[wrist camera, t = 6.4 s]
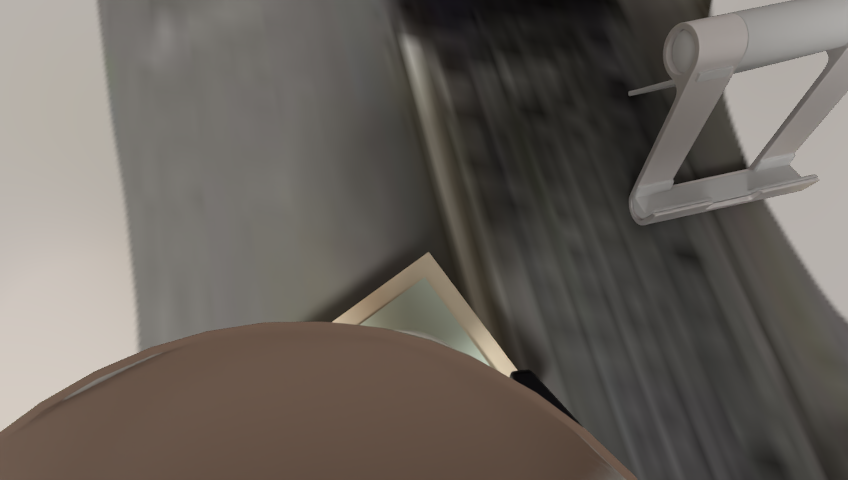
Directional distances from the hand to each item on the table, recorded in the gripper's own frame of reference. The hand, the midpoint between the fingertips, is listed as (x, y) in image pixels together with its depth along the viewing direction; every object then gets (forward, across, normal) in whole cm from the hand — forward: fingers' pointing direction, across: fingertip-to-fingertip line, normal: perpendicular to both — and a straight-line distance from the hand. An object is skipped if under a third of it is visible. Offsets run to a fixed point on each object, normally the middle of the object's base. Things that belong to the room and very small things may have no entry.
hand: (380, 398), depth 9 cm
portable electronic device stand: (+16, -17, +2) cm, 23 cm away
